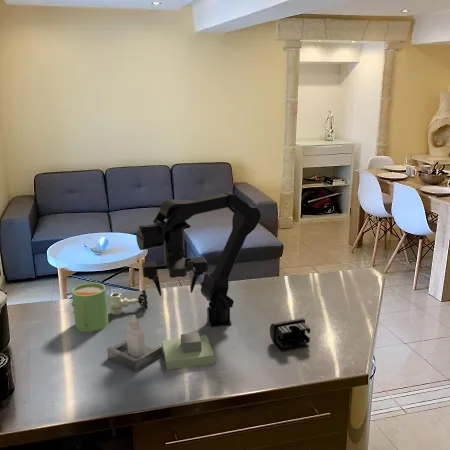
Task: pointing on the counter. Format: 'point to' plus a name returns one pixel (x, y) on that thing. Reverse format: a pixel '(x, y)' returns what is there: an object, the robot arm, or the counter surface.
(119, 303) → the valve
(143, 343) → the eye dropper bottle
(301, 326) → the end cap
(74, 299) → the mug
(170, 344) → the deck plate
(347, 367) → the counter surface
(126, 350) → the grey square tray
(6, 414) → the counter surface
